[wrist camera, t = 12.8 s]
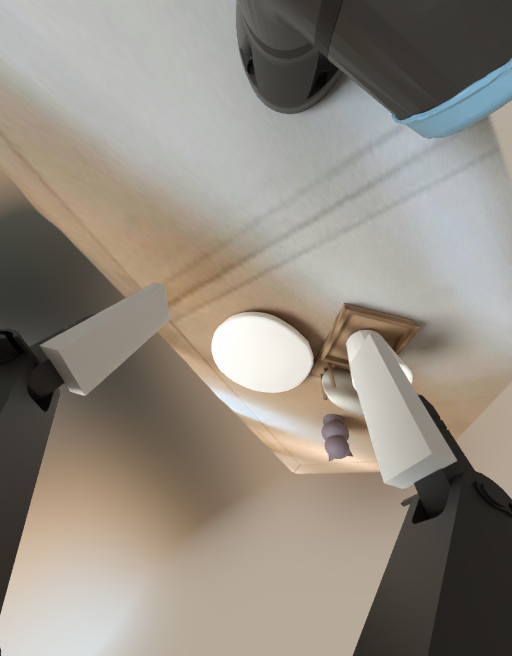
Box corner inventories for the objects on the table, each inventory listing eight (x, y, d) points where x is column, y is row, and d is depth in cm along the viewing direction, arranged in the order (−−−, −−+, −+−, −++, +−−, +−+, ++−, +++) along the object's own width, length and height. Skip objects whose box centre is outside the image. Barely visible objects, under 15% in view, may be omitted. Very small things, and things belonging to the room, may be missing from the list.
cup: (364, 315, 42) (385, 352, 32) (396, 338, 43) (427, 380, 33) (331, 343, 47) (340, 382, 37) (361, 362, 49) (378, 405, 38)
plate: (206, 378, 59) (210, 303, 44) (216, 364, 65) (222, 294, 50) (293, 412, 55) (329, 342, 40) (295, 394, 60) (328, 327, 46)
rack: (343, 303, 43) (360, 340, 31) (413, 320, 42) (457, 365, 30) (309, 371, 56) (312, 416, 44) (361, 386, 55) (378, 435, 43)
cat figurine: (337, 409, 62) (344, 448, 52) (351, 422, 64) (360, 461, 54) (315, 417, 67) (318, 454, 57) (329, 428, 69) (334, 466, 59)
